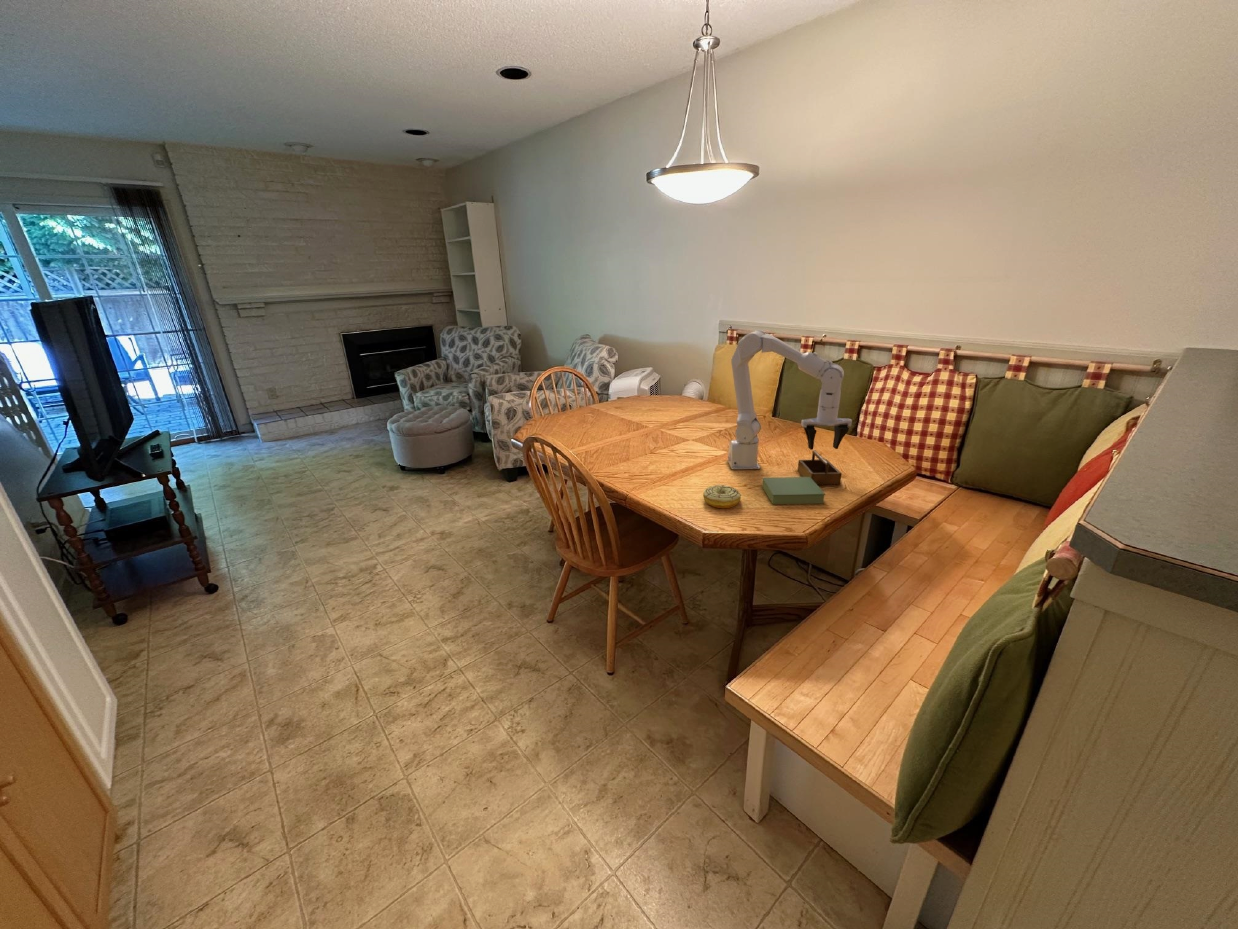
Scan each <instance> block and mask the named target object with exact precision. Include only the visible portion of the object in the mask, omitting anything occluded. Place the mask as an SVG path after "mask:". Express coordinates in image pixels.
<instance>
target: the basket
mask: <svg viewBox="0 0 1238 929" xmlns="http://www.w3.org/2000/svg"><path fill="white" fill-rule="evenodd" d="M811 452H812V454H811V455H812V456H811V459H798V463H797V473H799V475H800V477H811V479H812V480H813V481H814V482H815V483H816V484H817V485H818V486H819V487H827V486H828V487H833V486H841V482H842V481H841V480H842V475H843V473H842V472H841V471H840V470H839V469H838V468H837V467H836V466H835V465H834V464H832V463H831V462H830V461H829V460H828V459H825V457H823V455H821V454H820V453H819V451H817V450H816V449H813V450H811Z"/></svg>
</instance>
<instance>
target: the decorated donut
mask: <svg viewBox="0 0 1238 929" xmlns="http://www.w3.org/2000/svg"><path fill="white" fill-rule="evenodd" d="M702 494H703V495H702V497H703V500H704V502H705V503H706V504H708V505H709V506H710V507H713V508H717V509H731V508H733V507H735V506H737V505H738V504H739V502H740V501H741V498H742V494H741V492H740V491H739V490H738V489H736V488H735V487H734V486H730V485H727V484H716V485H712V486H709V487H707V488H705V489H704V491H703V493H702Z"/></svg>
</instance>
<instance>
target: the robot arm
mask: <svg viewBox="0 0 1238 929" xmlns="http://www.w3.org/2000/svg"><path fill="white" fill-rule="evenodd" d="M759 352H761V353H771V352H772V353H775V354H777V355H779V356H781V357H784V358H785V359H788V360H790V361H792V362H793V363H796V365H797V368H798V370H800V371H802V372H803V373H805V374H807V375H809V376H811V377H813V378H814V379H816V380H820V382H821V387H820V388H821V389H820V390H819V398H818V404H817V405H818V406H817V413H816V417H814V418H806V419H801V421H800V422H801V423H800V426H801V427H802V428H803V430H804V432H805V435H806V439H807V447H808V450H811V451H813V450H814V446H815V438H816V434H817V431H818V430H816V427H834V429H833V430H834V431H833V432H834V434H833V442H832V448H833V449H835V450H839V447H840V446H841V442H842V440H843V438H845V436H846V435H847V434H848V432H849V430H850V428H849V427H852V424H853V419H851V418H848V417H847V418H843V417H839V416H838V415H839V410H840V403H841V395H842V391H841V390H842V383H843V380H844V377H845V371H844V368H843V367H842V366H841V365H840V364H838V363H833V361H832V360H829V361H828V360H826V359H824V358H823V357H820V356H819V353H818V352H816V351H814V352H812V351H807V352H804V353H803V352H801V351H799V349H796V348H795V347H793V346H791V345H790V344H788V343H786V342H784V341H783V340H781V339H779V338H777V337H776V336H774V335H772V334H770V333H765V332H764V331H763V330H753V331H752V332H750V333H747V334H745V335H744V336H742V338H741V339H739V341H738V342H737V345H736V348H735V351H734V353H733V355H732V358H731V361H730V362H731V369H732V376H733V386H734V391H735V400H736V407H737V419H736V429H735V433H734V434H735V438H736V439H734V440H730V441H729V442H728V454H727V463H728V464H729V467H730V469H731V470H760V469H761V466H760V465H759V463H758V455H759V445H760V444H759V443H760V438H759V437H758V435H759V433H761V430H762V425H761V422H760V420H759V419H758V415H757V413H756V411H755V408H754V399H753V391H752V382H751V375H750V366H749V363H750V361H751V360H752V359H753V358H754V357H755V355H757V354H758V353H759Z"/></svg>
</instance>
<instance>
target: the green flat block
mask: <svg viewBox="0 0 1238 929" xmlns="http://www.w3.org/2000/svg"><path fill="white" fill-rule="evenodd" d="M761 479H762V484H761V487H762V490H763V491H764V492H765V494H766V496H767V497H768V499H769V500H770V502H771V503H772V505H804V504H805V505H807V504H808V505H809V504H810V505H811V504H813V505H814V504H824V499H825V496H826V493H825V492H824V491H823V489H821V487H820V486H818V485H817V484H816V483H815V482H814V481H813V480H812V479H811V477H802V476H781V477H779V476H777V477H776V476H775V477H761Z"/></svg>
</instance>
